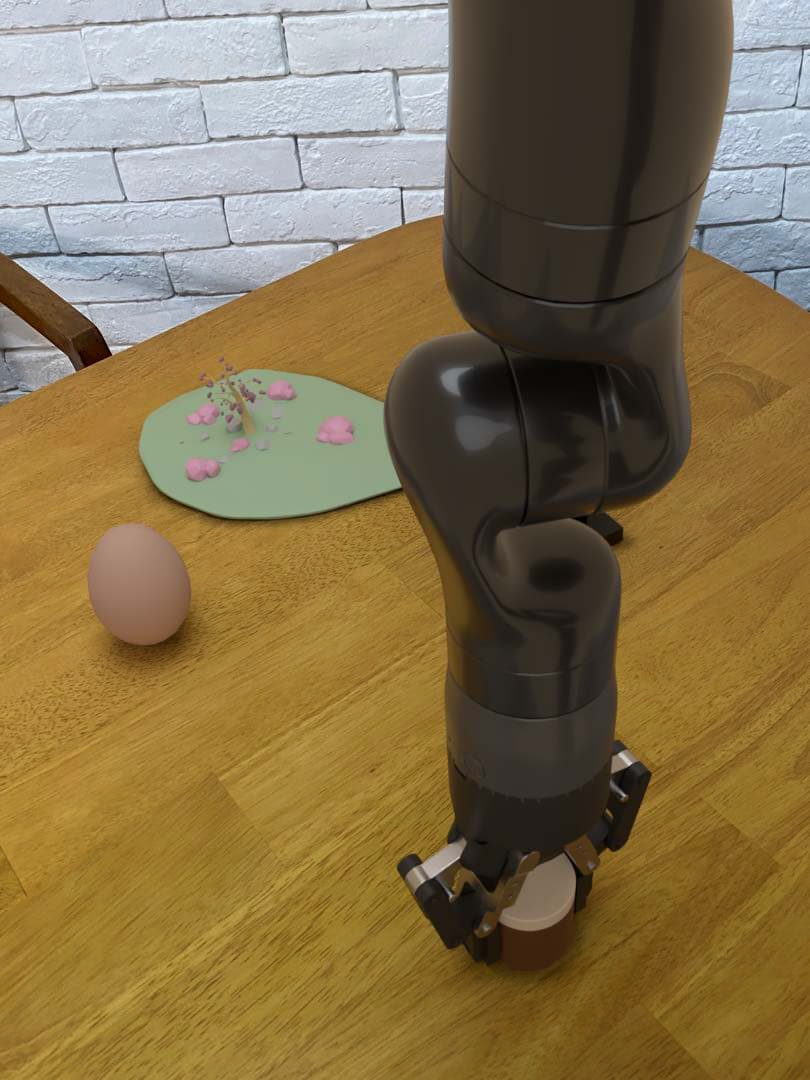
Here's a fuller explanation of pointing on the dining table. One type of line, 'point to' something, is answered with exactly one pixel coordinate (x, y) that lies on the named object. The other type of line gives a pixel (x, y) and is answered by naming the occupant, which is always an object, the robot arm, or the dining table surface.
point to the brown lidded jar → (540, 917)
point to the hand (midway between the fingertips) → (525, 923)
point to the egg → (138, 584)
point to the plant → (268, 446)
